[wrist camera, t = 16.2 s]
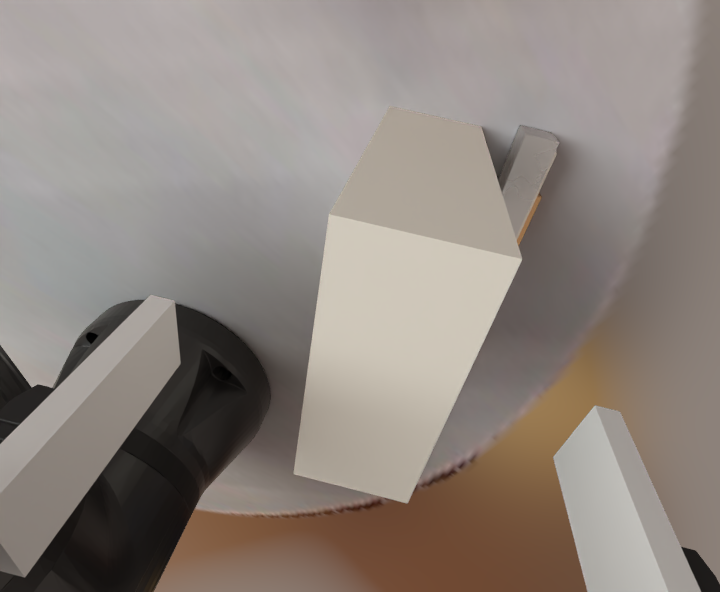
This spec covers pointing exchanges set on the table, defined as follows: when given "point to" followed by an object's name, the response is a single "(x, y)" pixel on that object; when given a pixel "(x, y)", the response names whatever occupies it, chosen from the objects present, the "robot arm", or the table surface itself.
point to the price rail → (526, 175)
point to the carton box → (402, 302)
